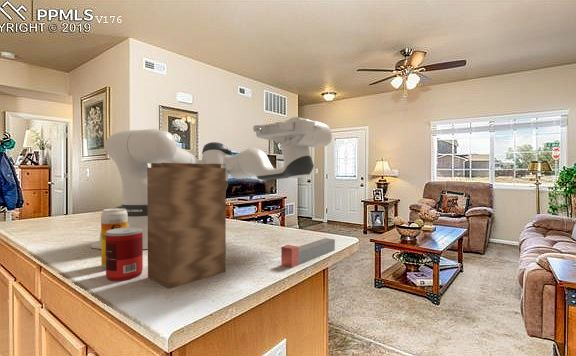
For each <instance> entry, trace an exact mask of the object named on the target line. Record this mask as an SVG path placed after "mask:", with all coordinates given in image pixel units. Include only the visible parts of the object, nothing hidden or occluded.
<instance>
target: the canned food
mask: <svg viewBox="0 0 576 356" xmlns="http://www.w3.org/2000/svg"><path fill="white" fill-rule="evenodd" d="M143 250H144V249H143V232H142V228H137V227H126V228H117V229H112V230H108V231H106V268H105V277H106V279H107V280H108V281H115V282H118V281H119V282H120V281H121V282H122V281H128V280H131V279H134V278H137V277H139V276H140V275H142V272H143V265H144V262H143V261H144V259H143V258H144V257H143V253H144V251H143Z"/></svg>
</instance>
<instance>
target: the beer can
mask: <svg viewBox="0 0 576 356" xmlns="http://www.w3.org/2000/svg"><path fill="white" fill-rule="evenodd" d="M126 227H128V213H127V211H126V209H124V208H107V209H102V212H101V214H100V228H101V229H100V233H101V249H100V250H101V252H100V253H101V265H102V266H103V268H104V269H106V231H108V230H112V229H117V228H126Z"/></svg>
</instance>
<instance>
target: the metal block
mask: <svg viewBox="0 0 576 356" xmlns="http://www.w3.org/2000/svg"><path fill="white" fill-rule="evenodd" d="M335 245H336V239H333V238H326V237H324V238H320V239H318V240H315V241H312V242H309V243H306V244H302V245H300V246H296V245H293V244H292V245H291V244H287V245H284V246H281V248H280V249H281V251H280V252H281V255H280V257H281V262H280V265H281V266H283V267H287V268H294V267H297V266H300V265H302V264H304V263H307V262H309V261H311V260H314V259H317V258H319V257H321V256H324V255H327V254H329V253H331V252H333V251H335V250H336V247H335Z"/></svg>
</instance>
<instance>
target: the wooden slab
mask: <svg viewBox="0 0 576 356" xmlns="http://www.w3.org/2000/svg"><path fill="white" fill-rule="evenodd" d="M226 193H227V190H226V168H221V164H192V163H151V164H150V167H148V168H147V199H148V249H147V278H148V279H150V280H152V281H153V282H155V283H157V284H160V285H161V286H163V287H165V288H167V289H172V288H174V287H178V286H181V285H185V284H189V283H192V282H196V281H199V280H202V279H206V278H208V277H211V276H215V275H220V274H222V273H225V272H226V271H227V270H226V267H227V266H226V262H227V261H226V257H227V255H226V250H227V249H226V247H227V244H226V238H227V237H226V232H227V231H226V227H227V226H226V222H227V221H226V210H227V209H226V208H227V206H226V198H227V196H226V195H227V194H226Z"/></svg>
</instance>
